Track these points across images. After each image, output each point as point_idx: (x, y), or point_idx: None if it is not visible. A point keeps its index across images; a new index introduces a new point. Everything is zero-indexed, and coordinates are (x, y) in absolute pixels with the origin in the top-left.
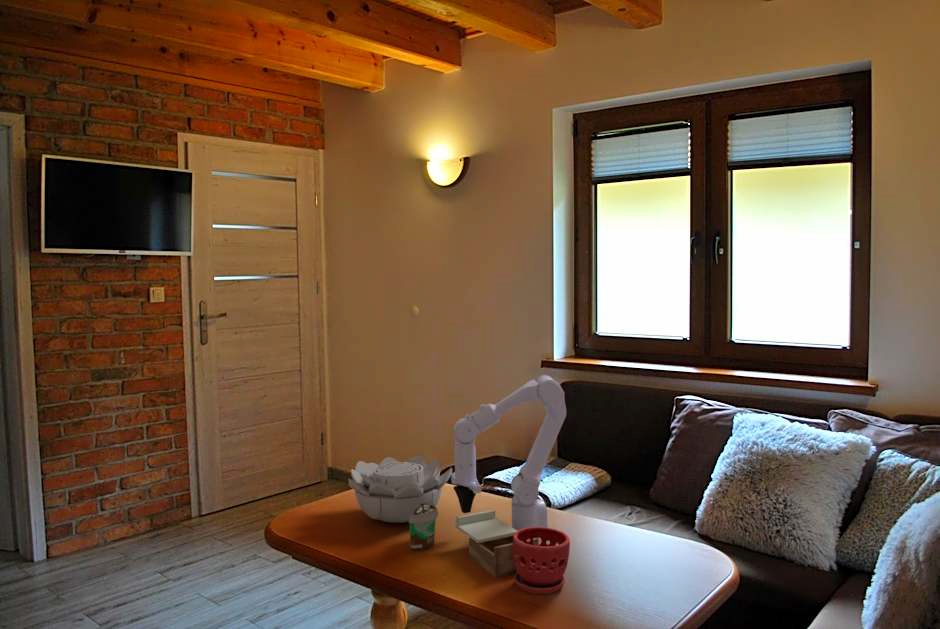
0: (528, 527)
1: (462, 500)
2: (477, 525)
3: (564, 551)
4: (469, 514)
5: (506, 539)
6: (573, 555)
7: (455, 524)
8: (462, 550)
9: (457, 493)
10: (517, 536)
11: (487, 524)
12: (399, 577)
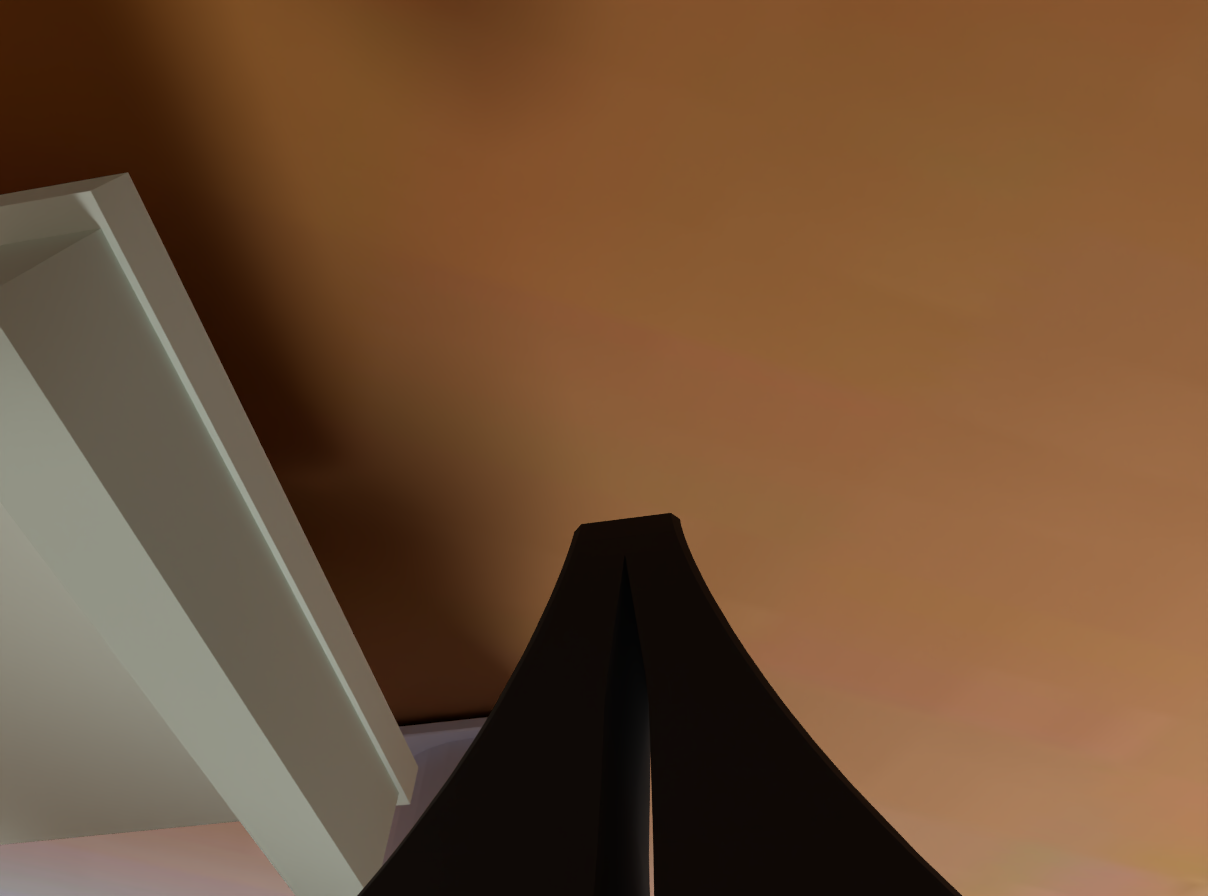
0: None
1: (463, 762)
2: (21, 552)
3: None
4: (162, 595)
5: None
6: (13, 883)
7: (75, 192)
8: (133, 153)
9: (740, 887)
10: None
11: (73, 675)
12: None
